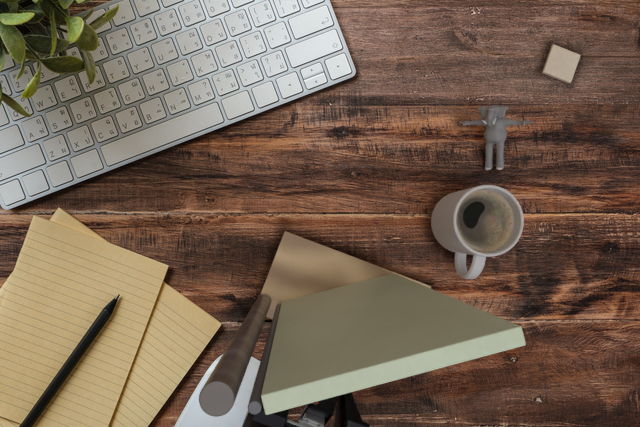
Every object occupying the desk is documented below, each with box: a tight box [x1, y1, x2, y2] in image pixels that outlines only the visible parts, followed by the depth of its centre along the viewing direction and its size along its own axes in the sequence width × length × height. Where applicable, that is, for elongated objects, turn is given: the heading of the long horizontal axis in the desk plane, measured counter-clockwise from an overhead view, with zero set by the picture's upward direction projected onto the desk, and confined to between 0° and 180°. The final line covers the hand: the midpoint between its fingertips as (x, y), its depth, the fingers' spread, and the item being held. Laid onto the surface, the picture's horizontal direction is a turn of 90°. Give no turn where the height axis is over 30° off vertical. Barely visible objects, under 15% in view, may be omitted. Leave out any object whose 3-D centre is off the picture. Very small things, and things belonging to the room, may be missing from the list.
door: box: [247, 273, 527, 415], centre depth 47 cm, size 2×17×38 cm, turn 104°
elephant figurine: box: [458, 104, 534, 171], centre depth 67 cm, size 10×6×9 cm
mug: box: [430, 184, 525, 280], centre depth 64 cm, size 11×10×10 cm
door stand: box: [198, 230, 432, 418], centre depth 47 cm, size 12×22×40 cm, turn 69°
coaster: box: [541, 43, 582, 84], centre depth 70 cm, size 4×4×1 cm
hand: (342, 373), depth 58 cm, fingers closed
